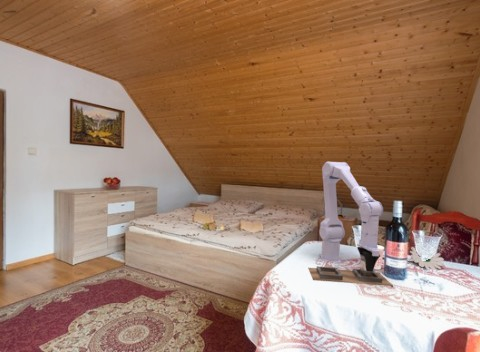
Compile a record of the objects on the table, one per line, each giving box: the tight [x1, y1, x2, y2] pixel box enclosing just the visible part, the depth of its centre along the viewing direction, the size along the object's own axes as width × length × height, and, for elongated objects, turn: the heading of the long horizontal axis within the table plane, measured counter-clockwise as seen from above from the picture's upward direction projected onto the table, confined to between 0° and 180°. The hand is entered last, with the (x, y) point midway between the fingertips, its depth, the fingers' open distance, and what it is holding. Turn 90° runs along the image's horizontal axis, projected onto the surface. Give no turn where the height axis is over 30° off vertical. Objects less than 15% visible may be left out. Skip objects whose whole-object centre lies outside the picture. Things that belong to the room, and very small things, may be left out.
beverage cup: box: [373, 244, 385, 270], centre depth 116 cm, size 6×6×14 cm
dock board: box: [308, 266, 394, 288], centre depth 105 cm, size 12×28×2 cm, turn 85°
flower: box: [382, 246, 445, 271], centre depth 124 cm, size 13×6×30 cm
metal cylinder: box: [360, 254, 372, 277], centre depth 104 cm, size 4×4×8 cm
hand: (367, 268), depth 104 cm, fingers closed on metal cylinder, 4 cm apart
